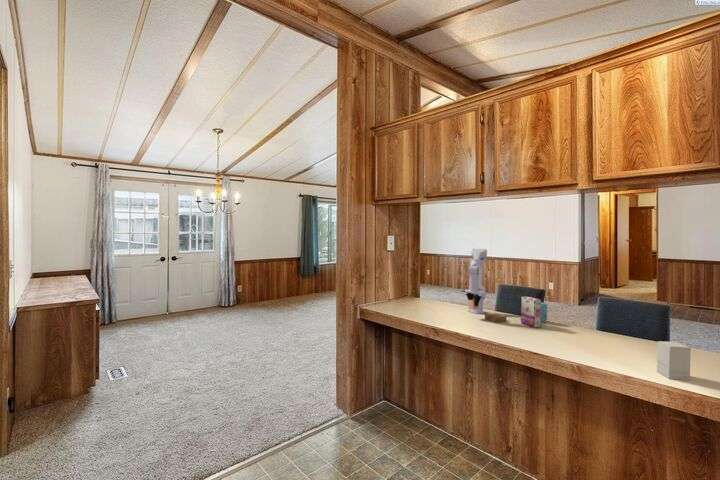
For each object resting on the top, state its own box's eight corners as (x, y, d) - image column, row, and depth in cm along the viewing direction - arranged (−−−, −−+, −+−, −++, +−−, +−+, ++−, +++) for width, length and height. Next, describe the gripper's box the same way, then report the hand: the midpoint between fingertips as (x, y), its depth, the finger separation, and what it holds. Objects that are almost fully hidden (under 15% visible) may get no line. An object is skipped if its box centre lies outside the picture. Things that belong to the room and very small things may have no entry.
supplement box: (690, 380, 133) (691, 347, 133) (668, 379, 135) (669, 346, 134) (676, 372, 141) (677, 341, 140) (655, 371, 142) (656, 340, 142)
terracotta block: (468, 307, 227) (468, 300, 227) (473, 307, 229) (474, 299, 229) (473, 309, 223) (473, 301, 223) (478, 308, 225) (478, 300, 225)
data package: (547, 322, 217) (547, 303, 216) (543, 323, 214) (543, 304, 214) (528, 318, 226) (528, 300, 226) (524, 319, 224) (524, 300, 223)
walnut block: (484, 319, 224) (484, 314, 224) (495, 318, 228) (495, 313, 228) (495, 323, 216) (495, 317, 216) (506, 321, 220) (506, 316, 219)
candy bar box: (541, 327, 206) (541, 299, 205) (534, 328, 204) (534, 300, 204) (527, 322, 216) (527, 296, 216) (520, 323, 215) (520, 296, 215)
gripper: (461, 283, 231) (461, 303, 231) (476, 286, 217) (476, 308, 218) (470, 282, 233) (469, 302, 234) (485, 285, 220) (485, 307, 220)
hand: (473, 305), depth 226 cm, fingers closed on terracotta block, 4 cm apart
